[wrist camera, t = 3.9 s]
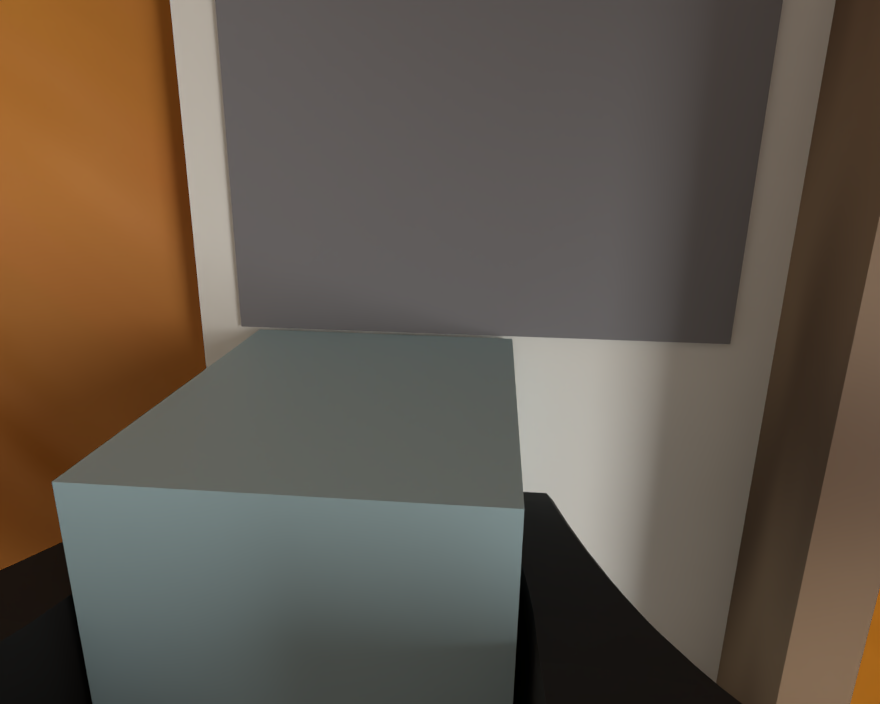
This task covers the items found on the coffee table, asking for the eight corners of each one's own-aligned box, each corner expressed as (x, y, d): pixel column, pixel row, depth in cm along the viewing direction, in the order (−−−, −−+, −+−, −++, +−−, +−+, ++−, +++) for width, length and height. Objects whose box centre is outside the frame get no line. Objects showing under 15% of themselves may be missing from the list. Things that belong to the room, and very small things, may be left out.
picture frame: (747, 740, 13) (805, 877, 10) (250, 698, 13) (196, 817, 11) (904, -45, 9) (1060, -120, 6) (181, -38, 9) (74, -103, 7)
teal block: (496, 656, 12) (495, 1000, 7) (282, 640, 12) (139, 958, 7) (511, 339, 10) (524, 509, 5) (259, 329, 10) (51, 481, 5)
